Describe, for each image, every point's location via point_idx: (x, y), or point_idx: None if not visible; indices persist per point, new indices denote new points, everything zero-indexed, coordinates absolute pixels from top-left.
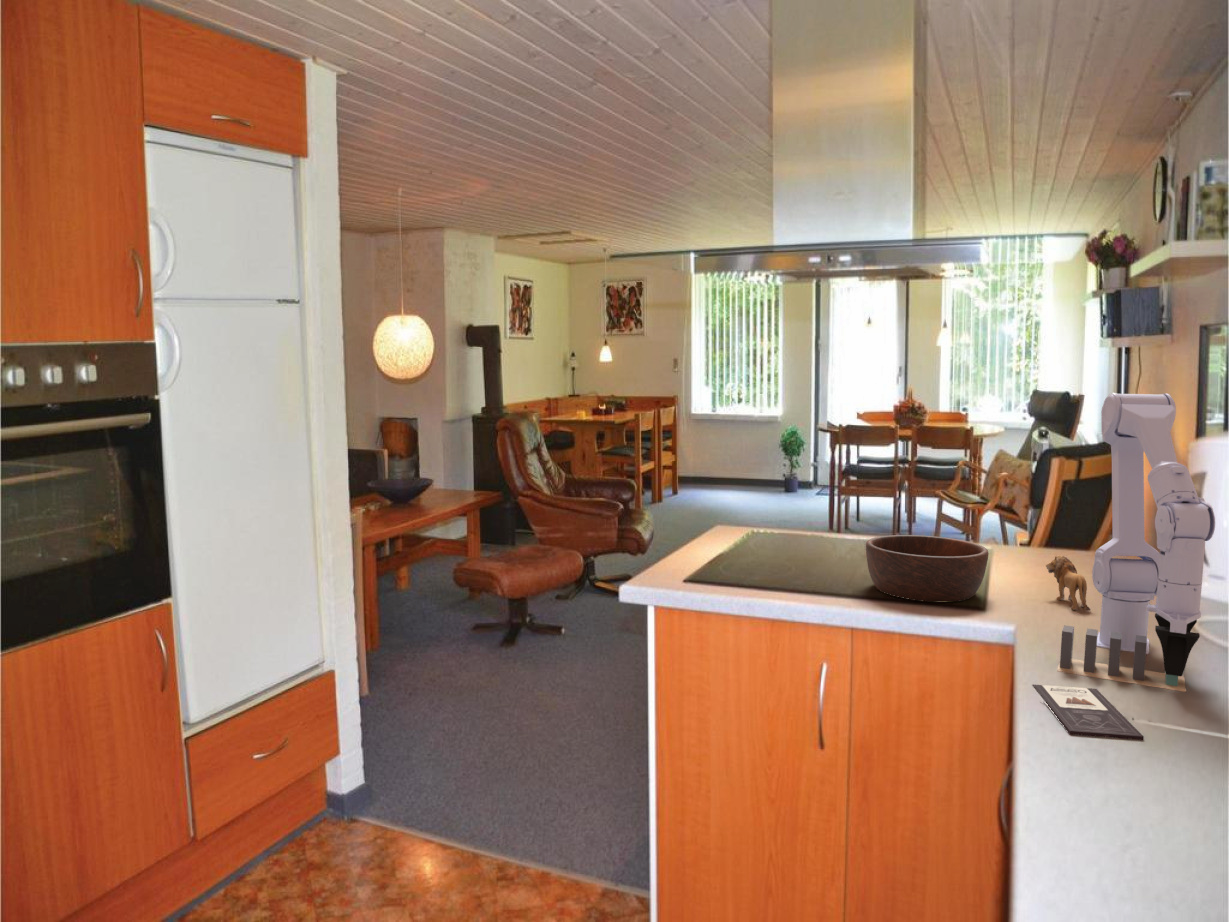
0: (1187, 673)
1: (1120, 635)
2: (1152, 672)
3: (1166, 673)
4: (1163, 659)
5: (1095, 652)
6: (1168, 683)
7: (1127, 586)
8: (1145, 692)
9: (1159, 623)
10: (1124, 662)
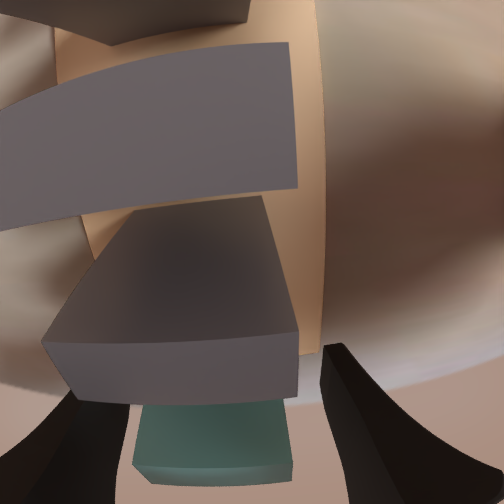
0: (384, 342)
1: (145, 189)
2: (304, 268)
3: None
4: (63, 399)
5: (55, 26)
6: None
7: None
8: (53, 263)
9: (398, 500)
10: (431, 149)
